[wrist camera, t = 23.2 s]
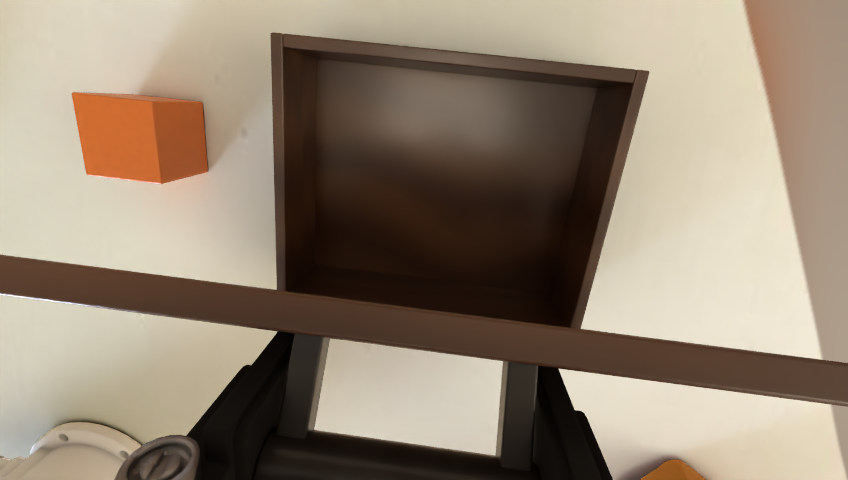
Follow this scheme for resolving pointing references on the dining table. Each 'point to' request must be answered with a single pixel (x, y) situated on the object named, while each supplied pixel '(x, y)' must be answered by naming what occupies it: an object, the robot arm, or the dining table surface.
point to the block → (140, 136)
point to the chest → (445, 176)
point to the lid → (422, 330)
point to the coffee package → (673, 472)
